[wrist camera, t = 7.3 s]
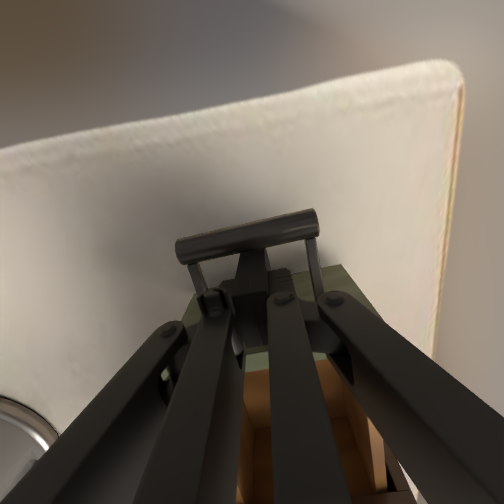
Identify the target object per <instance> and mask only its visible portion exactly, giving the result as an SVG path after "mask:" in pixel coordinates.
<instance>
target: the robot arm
mask: <svg viewBox="0 0 504 504" xmlns="http://www.w3.org/2000/svg"><path fill="white" fill-rule="evenodd" d="M196 299H197V302H198V305H199V308H200V311H201V314H202V315H201V318H200V321H199V322H198V323H196V324H193V325H190V326H188V327H185V326H184V324H183V322H181V321H170V322H168V323H165V324H163V325H162V326H160V327H159V328H157V329H156V330H155V331H154V332H153V333H152V335H151V336H150V337H149V338H148V339H147V340H146V341H145V342H144V343H143V345H142V346H141V347H140V348H139V349H138V350H137V351H136V352H135V353H134V354H133V356H132V357H131V358H130V359H129V360H128V361H127V362H126V363H125V364H124V366H123V367H122V368H121V369H120V370H119V371H118V372H117V373H116V374H115V376H114V377H113V378H112V379H111V380H110V381H109V382H108V383H107V384H106V386H105V387H104V388H103V389H102V390H101V391H100V392H99V393H98V394H97V396H96V397H95V398H94V399H93V400H92V401H91V402H90V403H89V404H88V406H87V407H86V408H85V409H84V410H83V411H82V412H81V413H80V414H79V415H78V417H77V418H76V419H75V420H74V421H73V422H72V423H71V424H70V425H69V427H68V428H67V429H66V430H65V431H64V432H63V433H62V434H61V435H60V437H58V435H57V433H56V432H55V431H54V429H53V428H52V427H51V426H50V425H49V424H48V423H47V422H46V421H45V420H44V419H43V418H41V417H40V416H39V415H37V414H36V413H34V412H33V411H31V410H29V409H28V408H26V407H24V406H22V405H20V404H18V403H15V402H13V401H10V400H7V399H4V398H1V397H0V504H236V494H237V479H238V465H239V450H240V436H241V421H242V407H243V392H244V378H245V363H246V355H245V351H244V348H243V344H244V342H245V345H246V348H253V347H259V346H265V345H268V358H269V385H270V413H271V440H272V468H273V495H274V504H352V502H351V498H350V494H349V491H348V487H347V483H346V479H345V475H344V471H343V468H342V464H341V460H340V456H339V452H338V449H337V445H336V441H335V437H334V433H333V429H332V426H331V422H330V418H329V414H328V410H327V407H326V403H325V399H324V395H323V391H322V387H321V384H320V380H319V376H318V372H317V368H316V365H315V361H314V357H313V353H312V352H315V353H325V354H326V357H327V359H328V360H329V362H330V363H331V365H332V366H333V368H334V369H335V370H336V372H337V373H338V375H339V376H340V378H341V379H342V381H343V382H344V383H345V385H346V386H347V388H348V389H349V391H350V392H351V394H352V395H353V396H354V398H355V399H356V401H357V402H358V404H359V405H360V406H361V408H362V409H363V411H364V412H365V414H366V415H367V417H368V418H369V419H370V421H371V422H372V424H373V425H374V427H375V428H376V430H377V431H378V432H379V434H380V435H381V437H382V438H383V440H384V441H385V442H386V444H387V445H388V447H389V448H390V450H391V451H392V453H393V454H394V455H395V457H396V458H397V460H398V461H399V463H400V464H401V466H402V467H403V468H404V470H405V471H406V473H407V474H408V476H409V477H410V478H411V480H412V481H413V483H414V484H415V486H416V487H417V489H418V490H419V491H420V493H421V494H422V496H423V497H424V499H425V500H426V502H427V503H428V504H504V417H502V416H501V415H500V414H499V413H498V412H496V411H495V410H494V409H492V408H491V407H490V406H489V405H487V404H486V403H485V402H484V401H482V400H481V399H480V398H479V397H478V396H476V395H475V394H474V393H472V392H471V391H470V390H469V389H467V388H466V387H465V386H464V385H462V384H461V383H460V382H459V381H458V380H456V379H455V378H454V377H453V376H451V375H450V374H449V373H447V372H446V371H445V370H444V369H443V368H441V367H440V366H439V365H438V364H436V363H435V362H434V361H433V360H431V359H430V358H429V357H428V356H426V355H425V354H424V353H423V352H421V351H420V350H419V349H418V348H416V347H415V346H414V345H413V344H411V343H410V342H409V341H408V340H406V339H405V338H404V337H403V336H401V335H400V334H399V333H398V332H396V331H395V330H394V329H393V328H391V327H390V326H389V325H388V324H386V323H385V322H384V321H383V320H381V319H380V318H379V317H378V316H376V315H375V314H374V313H373V312H371V311H370V310H369V309H368V308H366V307H365V306H364V305H363V304H361V303H360V302H359V301H358V300H356V299H355V298H354V297H353V296H351V295H350V294H349V293H347V292H344V291H339V290H332V291H328V292H325V293H322V294H321V295H320V296H319V297H318V298H317V302H311V301H305V300H302V299H300V298H299V297H298V296H297V295H296V291H295V287H294V283H293V279H292V276H291V272H290V271H289V270H288V269H287V268H282V269H277V270H272V271H271V268H270V264H269V260H268V255H267V251H266V248H262V249H257V250H253V251H248V252H243V253H240V257H239V262H238V266H237V271H236V276H235V279H230V280H225V281H223V282H222V283H221V284H220V285H219V286H218V287H216V288H211V289H208V290H206V291H203V292H202V293H201V294H199V295H198V296H197V298H196ZM165 368H166V371H167V373H168V376H167V378H166V379H165V380H163V379H162V376H161V374H162V373H163V371H164V370H165Z"/></svg>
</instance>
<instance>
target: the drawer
mask: <svg viewBox="0 0 504 504" xmlns="http://www.w3.org/2000/svg"><path fill="white" fill-rule="evenodd" d="M317 236H319V223H318V218H317V215H316V212H315V210H314V209H313V208H310V209H306V210H302V211H297V212H293V213H289V214H284V215H280V216H275V217H271V218H267V219H262V220H258V221H254V222H249V223H245V224H241V225H236V226H232V227H227V228H223V229H219V230H214V231H210V232H206V233H201V234H197V235H192V236H188V237H184V238H179V239H177V240H176V242H175V252H176V256H177V259H178V261H179V262H180V264H182V265H187V267H188V270H189V272H190V275H191V278H192V281H193V284H194V286H195V289H196V292H197V293H196V294H194V295H193V297H192V299H191V301H190V303H189V305H188V307H187V309H186V311H185V313H184V315H183V318H182V320H181V322H183V324H184V326H185V327H188V326H190V325H193V324H196V323H198V322H199V321H200V318H201V315H202V314H201V311H200V308H199V305H198V302H197V299H196V298H197V296H198V295H199V294H201V293H202V292H203V291H206V290H208V287H207V284H206V281H205V278H204V276H203V273H202V270H201V267H200V264H199V262H202V261H207V260H211V259H216V258H220V257H225V256H230V255H234V254H239V253H243V252H248V251H253V250H257V249H262V248H267V247H271V246H276V245H280V244H285V243H290V242H294V241H299V240H304V243H305V248H306V254H307V260H308V265H309V271H304V272H300V273H295V274H291V276H292V279H293V283H294V287H295V291H296V295H297V296H298V297H299V298H300V299H302V300H305V301H311V302H317V298H318V297H319V296H320V295H321V294H322V293H325V292H328V291H332V290H339V291H344V292H347V293H349V294H350V295H351V296H353V297H354V298H355V299H356V300H358V301H359V302H360V303H361V304H363V305H364V306H365V307H366V308H368V309H369V310H370V311H371V312H373V313H374V314H375V315H376V316H378V317H379V318H380V319H381V320H383V319H382V318H381V316H380V315H379V314H378V312H377V311H376V310H375V308H374V307H373V306H372V304H371V303H370V302H369V300H368V299H367V298H366V297H365V295H364V294H363V293H362V291H361V290H360V289H359V287H358V286H357V285H356V283H355V282H354V281H353V279H352V278H351V277H350V275H349V274H348V273H347V271H346V270H345V269H344V268H343V266H342V265H341V264H339V265H334V266H329V267H324V268H320V262H319V256H318V250H317V244H316V238H315V237H317ZM383 321H384V320H383ZM243 348H244V351H245V355H246V363H245V378H244V392H243V407H242V421H241V436H240V450H239V465H238V479H237V494H236V504H274V495H273V468H272V440H271V413H270V385H269V358H268V345H265V346H259V347H253V348H246V345H245V342H244V344H243ZM312 353H313V357H314V361H315V365H316V368H317V372H318V376H319V380H320V384H321V387H322V391H323V395H324V399H325V403H326V407H327V410H328V414H329V418H330V422H331V426H332V429H333V433H334V437H335V441H336V445H337V449H338V452H339V456H340V460H341V464H342V468H343V471H344V475H345V479H346V483H347V487H348V491H349V494H350V496H359V495H369V494H379V493H388V490H387V479H386V468H385V458H384V447H383V438H382V437H381V435H380V434H379V432H378V431H377V430H376V428H375V427H374V425H373V424H372V422H371V421H370V419H369V418H368V417H367V415H366V414H365V412H364V411H363V409H362V408H361V406H360V405H359V404H358V402H357V401H356V399H355V398H354V396H353V395H352V394H351V392H350V391H349V389H348V388H347V386H346V385H345V383H344V382H343V381H342V379H341V378H340V376H339V375H338V373H337V372H336V370H335V369H334V368H333V366H332V365H331V363H330V362H329V360H328V359H327V357H326V354H325V353H315V352H312ZM161 376H162V379H163V380H165V379H166V378H167V376H168V373H167V371H166V368H165V370H164V371H163V373H162V374H161Z"/></svg>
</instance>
